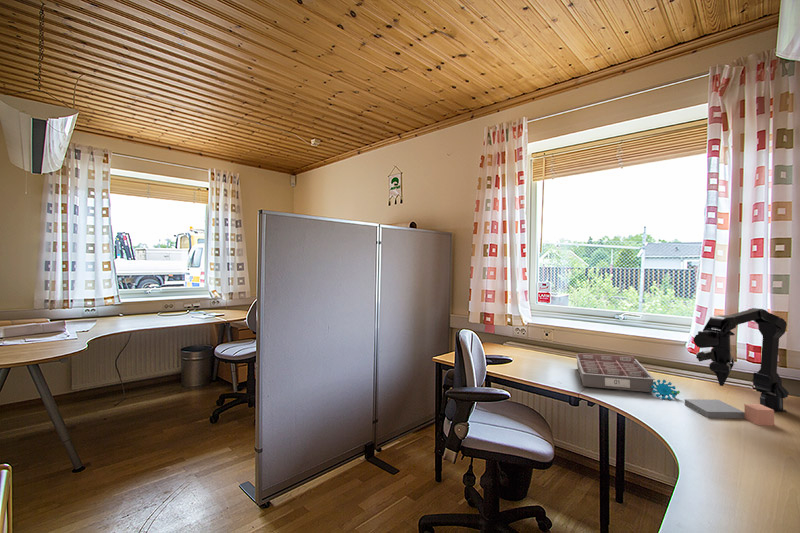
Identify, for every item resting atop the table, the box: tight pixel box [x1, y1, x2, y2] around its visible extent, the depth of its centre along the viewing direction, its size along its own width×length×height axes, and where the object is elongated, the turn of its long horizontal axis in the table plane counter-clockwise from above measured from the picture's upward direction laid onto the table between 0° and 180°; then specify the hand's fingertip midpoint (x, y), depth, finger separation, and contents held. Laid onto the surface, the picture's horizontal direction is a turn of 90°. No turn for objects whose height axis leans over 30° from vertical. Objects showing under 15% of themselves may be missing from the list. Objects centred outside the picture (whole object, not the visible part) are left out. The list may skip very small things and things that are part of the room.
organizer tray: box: [575, 352, 656, 393], centre depth 201 cm, size 32×40×10 cm
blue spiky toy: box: [651, 379, 681, 401], centre depth 175 cm, size 11×6×10 cm
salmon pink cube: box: [744, 403, 775, 426], centre depth 146 cm, size 6×6×6 cm
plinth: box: [684, 398, 745, 419], centre depth 157 cm, size 14×14×2 cm
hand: (722, 383), depth 155 cm, fingers open, 9 cm apart
